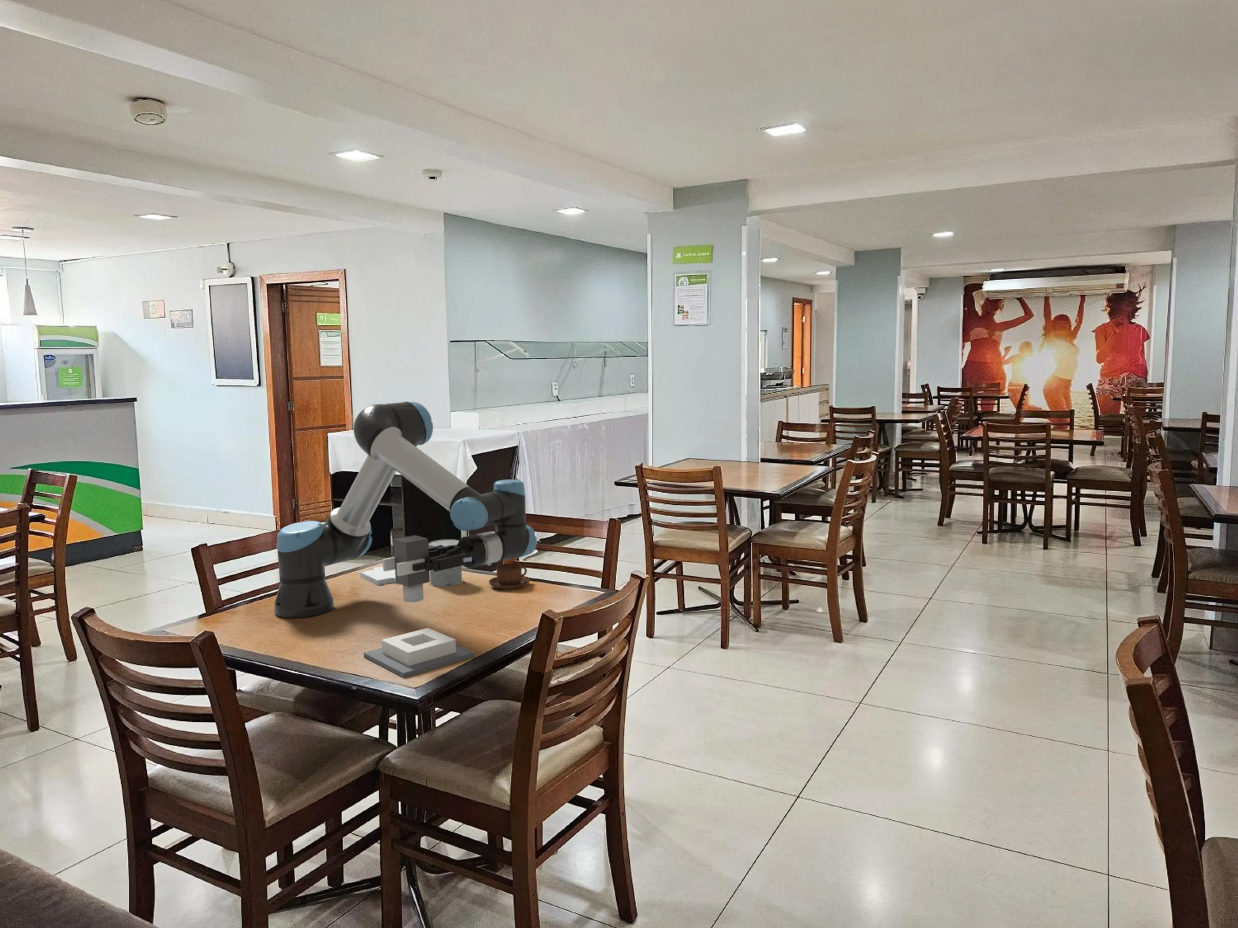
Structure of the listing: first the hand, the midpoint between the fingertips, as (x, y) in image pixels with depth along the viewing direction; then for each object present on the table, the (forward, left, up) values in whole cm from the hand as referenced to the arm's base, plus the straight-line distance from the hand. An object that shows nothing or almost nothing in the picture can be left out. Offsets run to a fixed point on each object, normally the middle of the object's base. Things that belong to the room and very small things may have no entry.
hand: (390, 567), depth 189 cm
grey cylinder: (-10, +67, -22) cm, 71 cm away
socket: (+4, +4, -22) cm, 22 cm away
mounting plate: (-30, +72, -22) cm, 81 cm away
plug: (+3, +4, -8) cm, 10 cm away
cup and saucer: (+10, +64, -22) cm, 69 cm away
